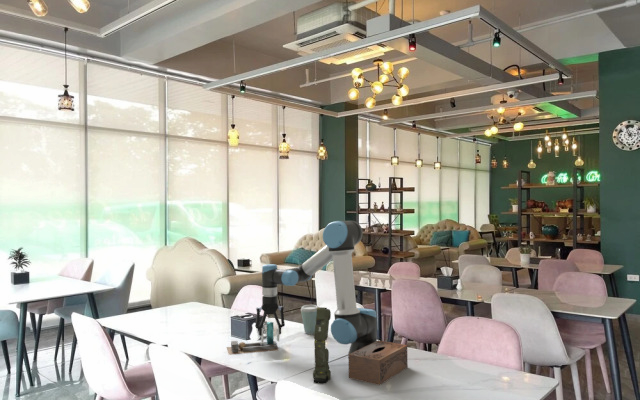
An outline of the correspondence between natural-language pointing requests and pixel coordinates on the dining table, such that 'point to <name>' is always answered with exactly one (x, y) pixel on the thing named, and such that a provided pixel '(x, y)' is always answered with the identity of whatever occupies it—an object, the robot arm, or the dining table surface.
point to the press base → (250, 348)
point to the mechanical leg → (321, 346)
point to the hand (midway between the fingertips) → (270, 341)
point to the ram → (269, 335)
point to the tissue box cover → (378, 362)
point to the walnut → (242, 345)
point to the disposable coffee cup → (309, 318)
